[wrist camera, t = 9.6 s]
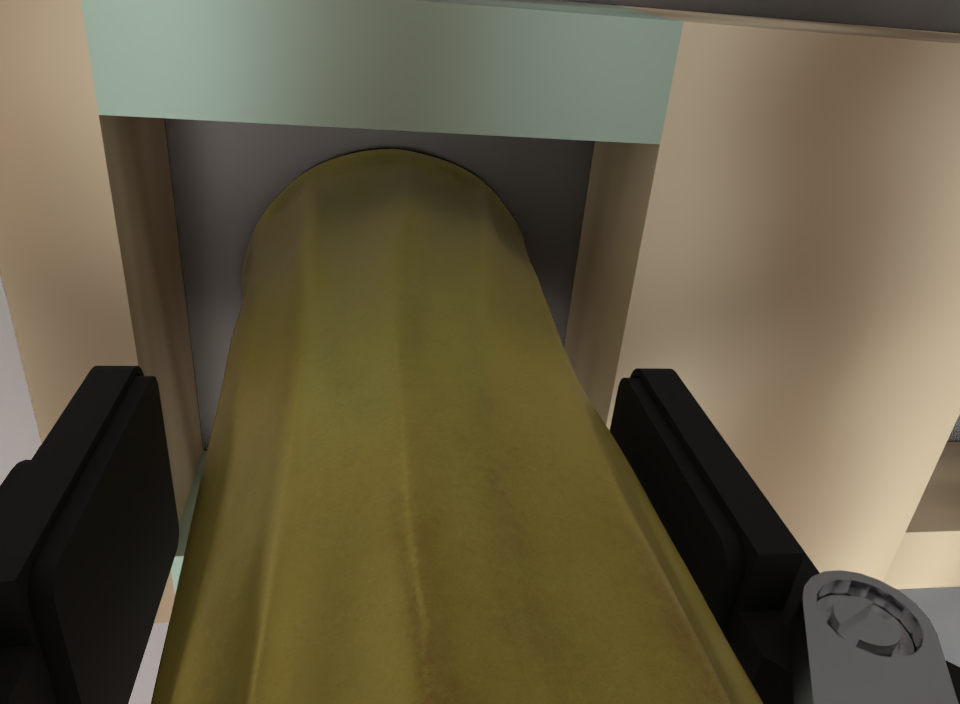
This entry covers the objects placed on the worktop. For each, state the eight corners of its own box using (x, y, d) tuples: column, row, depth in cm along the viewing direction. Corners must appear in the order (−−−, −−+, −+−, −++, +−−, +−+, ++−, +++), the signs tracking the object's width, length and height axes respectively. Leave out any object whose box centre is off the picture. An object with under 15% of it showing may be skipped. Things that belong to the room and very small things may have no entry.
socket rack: (1372, 67, 17) (1595, 94, 14) (1115, 488, 22) (1233, 573, 19) (33, -43, 12) (-75, -40, 9) (133, 511, 18) (85, 625, 15)
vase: (537, 383, 18) (980, 1357, 5) (281, 429, 17) (120, 1628, 5) (515, 125, 15) (1373, 954, 2) (207, 171, 14) (-682, 1524, 2)
